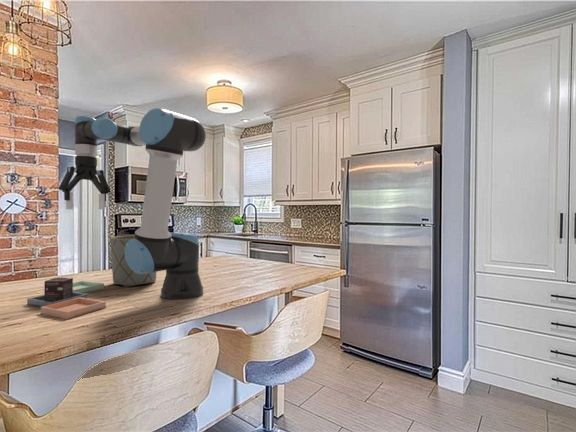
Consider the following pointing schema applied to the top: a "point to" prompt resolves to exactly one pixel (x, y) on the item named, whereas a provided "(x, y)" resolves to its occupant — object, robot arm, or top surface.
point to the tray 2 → (86, 286)
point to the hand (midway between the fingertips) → (86, 209)
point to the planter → (126, 265)
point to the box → (58, 289)
